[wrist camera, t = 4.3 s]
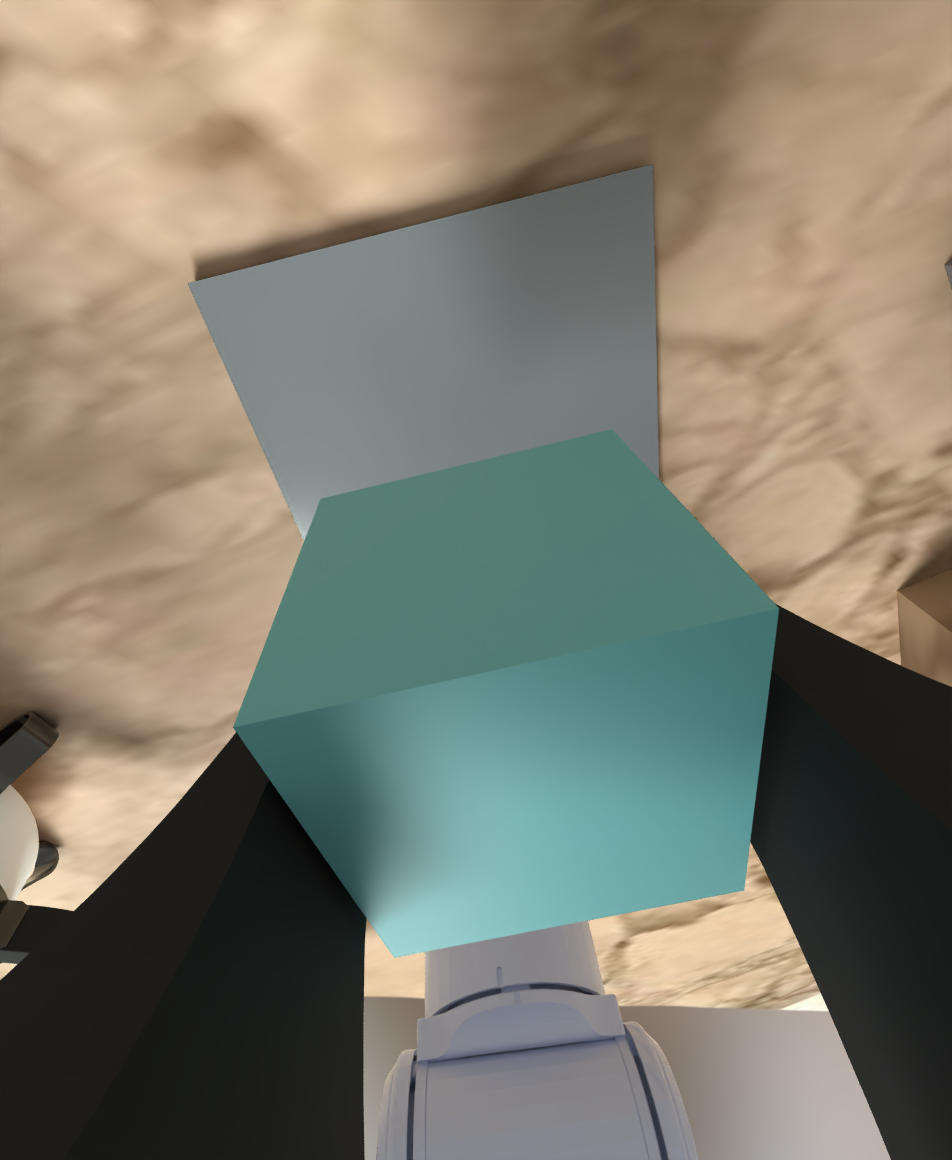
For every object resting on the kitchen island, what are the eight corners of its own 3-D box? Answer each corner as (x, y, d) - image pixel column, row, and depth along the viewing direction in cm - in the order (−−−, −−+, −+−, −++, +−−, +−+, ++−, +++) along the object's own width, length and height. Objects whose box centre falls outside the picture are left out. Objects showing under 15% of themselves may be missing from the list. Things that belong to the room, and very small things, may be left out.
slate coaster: (656, 559, 20) (660, 566, 20) (348, 627, 21) (347, 635, 20) (645, 166, 14) (652, 163, 13) (194, 281, 14) (187, 283, 14)
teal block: (629, 652, 12) (743, 890, 7) (405, 700, 12) (394, 958, 8) (612, 429, 9) (779, 607, 5) (320, 498, 9) (232, 727, 5)
